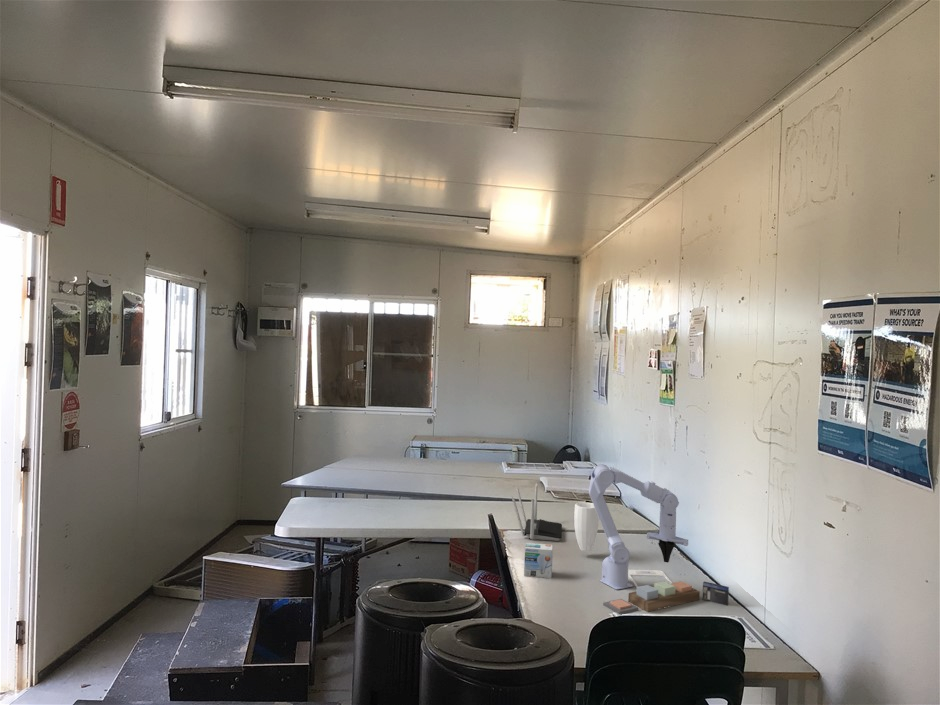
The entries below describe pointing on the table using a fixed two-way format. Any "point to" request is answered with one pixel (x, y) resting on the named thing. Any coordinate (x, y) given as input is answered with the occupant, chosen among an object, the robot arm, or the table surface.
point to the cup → (585, 525)
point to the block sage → (664, 588)
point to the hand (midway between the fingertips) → (666, 561)
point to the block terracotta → (682, 586)
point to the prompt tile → (620, 606)
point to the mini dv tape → (715, 593)
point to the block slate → (647, 592)
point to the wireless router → (537, 523)
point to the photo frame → (645, 574)
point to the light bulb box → (538, 560)
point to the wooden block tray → (663, 600)
